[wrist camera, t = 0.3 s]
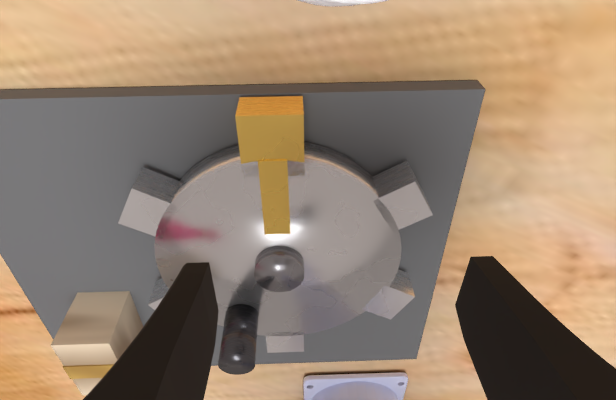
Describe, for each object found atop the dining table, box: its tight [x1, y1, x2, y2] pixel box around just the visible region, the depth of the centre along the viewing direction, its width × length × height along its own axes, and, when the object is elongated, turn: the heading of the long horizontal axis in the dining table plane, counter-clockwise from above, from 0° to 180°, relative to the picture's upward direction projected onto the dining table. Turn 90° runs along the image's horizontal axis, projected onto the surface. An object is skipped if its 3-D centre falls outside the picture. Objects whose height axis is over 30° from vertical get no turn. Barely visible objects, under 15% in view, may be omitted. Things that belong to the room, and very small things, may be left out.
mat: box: [0, 80, 485, 366], centre depth 24 cm, size 20×24×1 cm
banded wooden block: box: [51, 291, 143, 395], centre depth 25 cm, size 5×3×4 cm, turn 1°
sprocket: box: [118, 96, 433, 374], centre depth 20 cm, size 16×14×5 cm
